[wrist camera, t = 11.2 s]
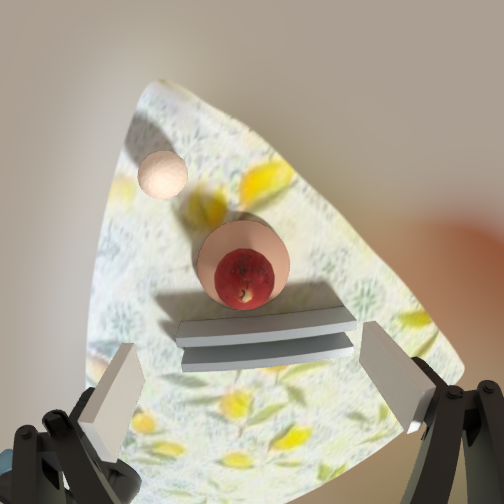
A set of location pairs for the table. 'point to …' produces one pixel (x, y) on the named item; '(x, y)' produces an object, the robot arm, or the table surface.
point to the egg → (162, 174)
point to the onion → (244, 279)
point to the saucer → (242, 237)
